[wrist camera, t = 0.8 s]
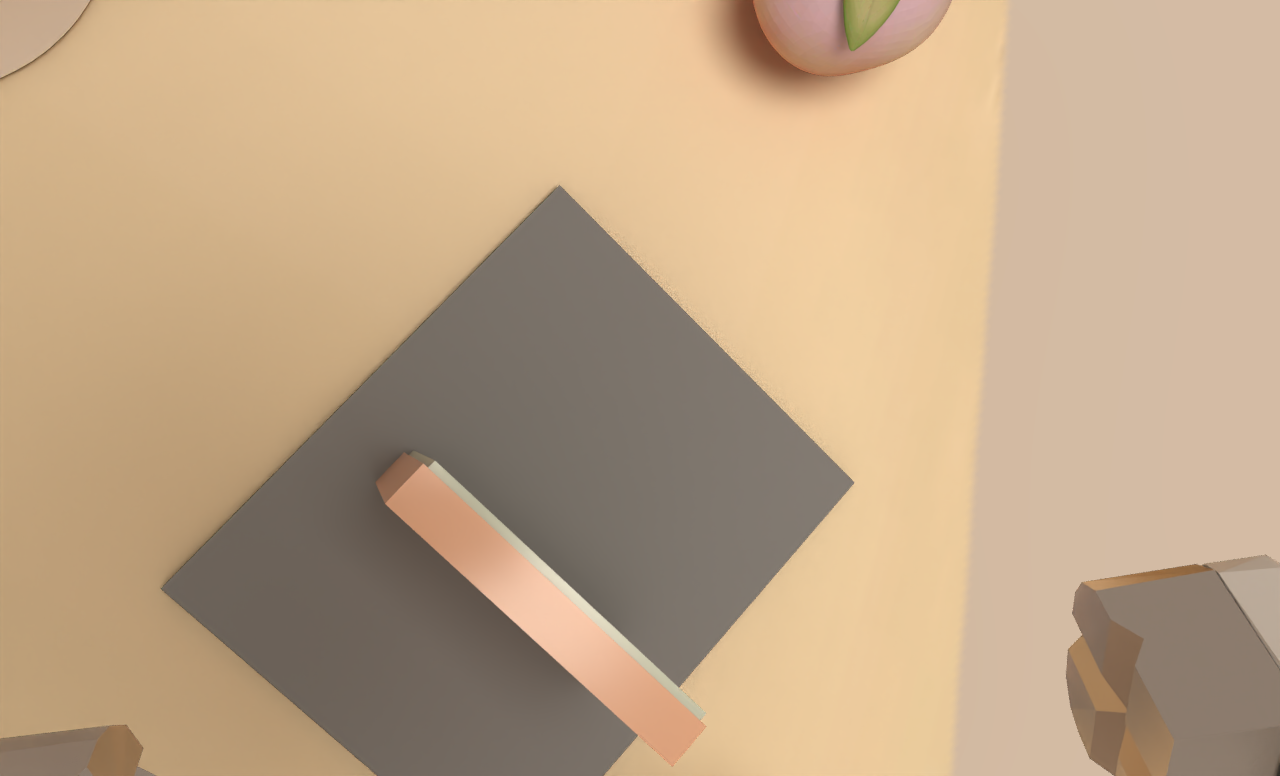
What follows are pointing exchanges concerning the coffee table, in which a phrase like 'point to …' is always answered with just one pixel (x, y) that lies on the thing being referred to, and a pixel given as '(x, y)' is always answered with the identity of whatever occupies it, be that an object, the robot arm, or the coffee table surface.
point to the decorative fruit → (847, 31)
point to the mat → (516, 514)
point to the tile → (541, 603)
